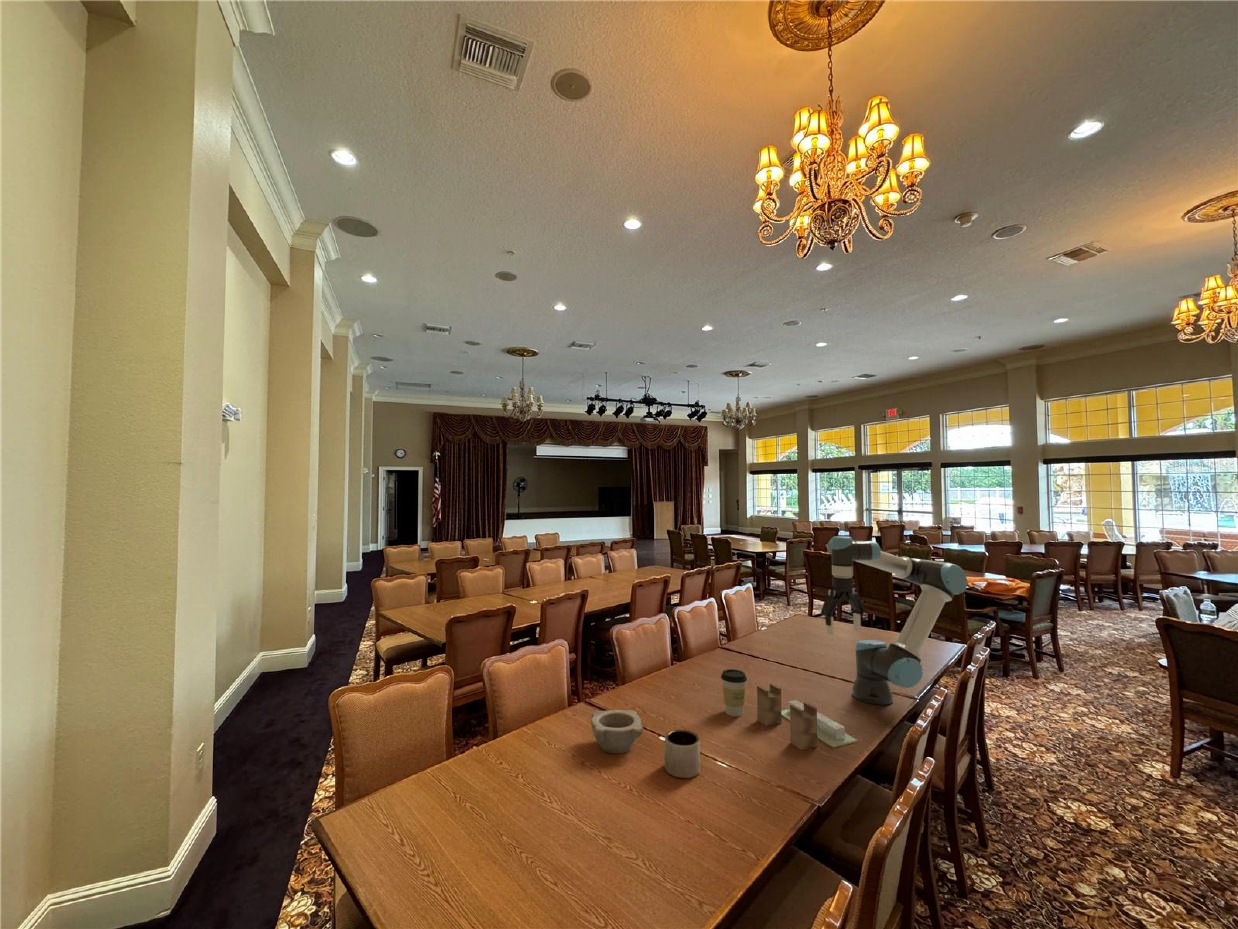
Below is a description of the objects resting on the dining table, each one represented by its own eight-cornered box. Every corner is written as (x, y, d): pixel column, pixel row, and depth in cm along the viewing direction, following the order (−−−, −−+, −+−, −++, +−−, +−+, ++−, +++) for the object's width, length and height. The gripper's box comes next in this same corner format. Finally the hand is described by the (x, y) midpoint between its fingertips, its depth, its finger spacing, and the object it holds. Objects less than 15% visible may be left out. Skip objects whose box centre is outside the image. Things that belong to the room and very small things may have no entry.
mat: (799, 708, 193) (799, 707, 193) (857, 742, 167) (857, 740, 167) (777, 713, 189) (776, 711, 189) (832, 747, 163) (832, 745, 163)
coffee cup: (748, 719, 183) (747, 678, 184) (721, 717, 185) (721, 676, 186) (746, 708, 193) (746, 669, 194) (721, 706, 195) (720, 667, 196)
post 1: (772, 717, 185) (772, 683, 186) (781, 723, 181) (781, 688, 181) (757, 720, 183) (757, 686, 184) (766, 726, 178) (765, 691, 179)
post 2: (806, 739, 168) (806, 702, 169) (817, 746, 164) (816, 708, 165) (790, 743, 166) (790, 705, 167) (801, 750, 161) (800, 711, 162)
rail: (787, 712, 188) (787, 701, 189) (796, 710, 190) (796, 700, 190) (836, 741, 166) (835, 729, 166) (845, 739, 168) (844, 727, 168)
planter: (677, 783, 142) (677, 749, 143) (657, 765, 152) (657, 733, 152) (707, 774, 147) (707, 741, 148) (686, 757, 157) (686, 726, 157)
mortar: (637, 734, 172) (638, 707, 172) (644, 759, 155) (644, 729, 156) (590, 735, 170) (590, 708, 171) (591, 761, 153) (591, 731, 154)
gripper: (858, 573, 197) (860, 626, 196) (810, 576, 188) (811, 632, 187) (874, 576, 190) (876, 631, 189) (824, 579, 181) (826, 638, 180)
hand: (843, 632), depth 188 cm, fingers open, 13 cm apart
